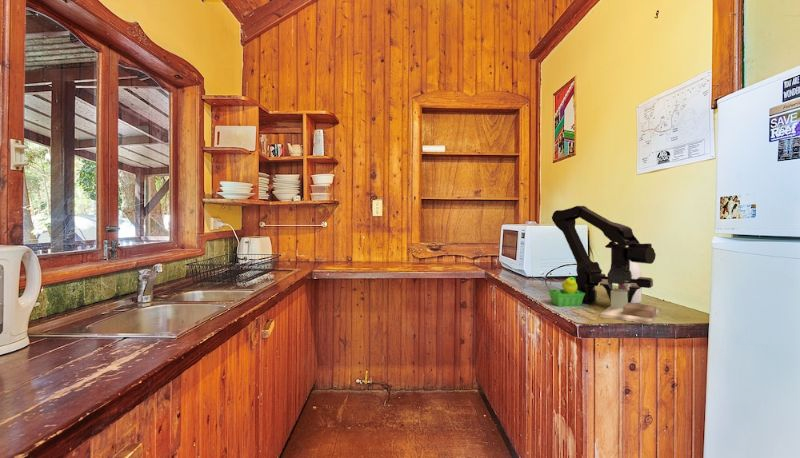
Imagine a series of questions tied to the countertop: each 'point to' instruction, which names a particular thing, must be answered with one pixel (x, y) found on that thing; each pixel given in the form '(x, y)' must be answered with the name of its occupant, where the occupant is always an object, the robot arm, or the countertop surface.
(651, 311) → the base block
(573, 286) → the fruit basket
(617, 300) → the top block
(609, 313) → the board
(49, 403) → the countertop surface
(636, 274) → the milk bottle
